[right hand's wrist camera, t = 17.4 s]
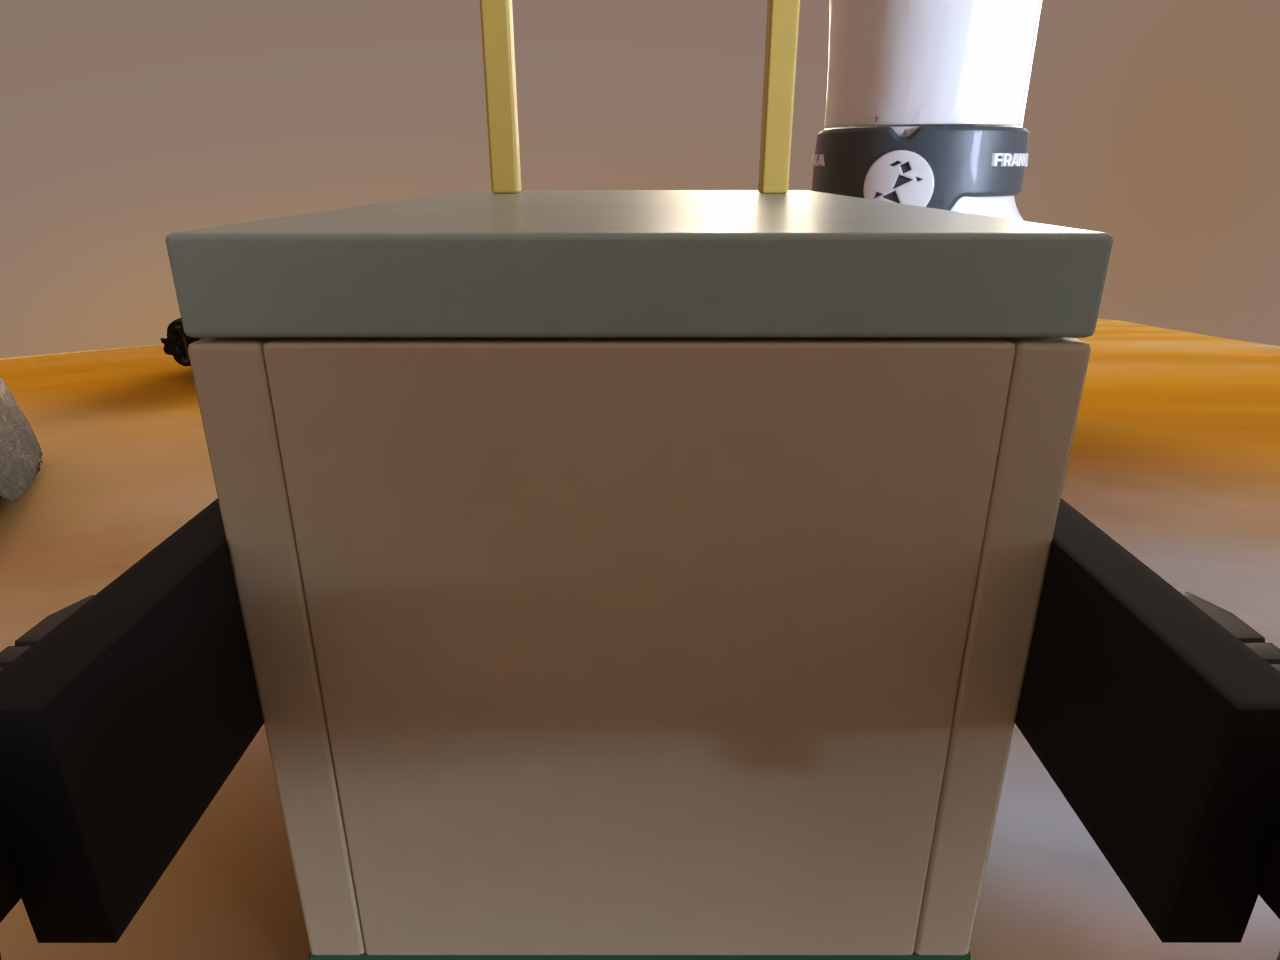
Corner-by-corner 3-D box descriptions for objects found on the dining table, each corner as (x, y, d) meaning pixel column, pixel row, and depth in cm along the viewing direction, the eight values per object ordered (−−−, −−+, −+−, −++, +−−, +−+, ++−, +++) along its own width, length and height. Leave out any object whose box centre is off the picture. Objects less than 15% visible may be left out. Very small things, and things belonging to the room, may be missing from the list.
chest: (493, 547, 28) (470, 231, 24) (786, 547, 28) (809, 231, 24) (318, 1003, 13) (181, 343, 9) (960, 1003, 13) (1096, 343, 9)
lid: (474, 229, 25) (449, -116, 21) (805, 229, 25) (829, -116, 21) (182, 338, 9) (-67, -881, 6) (1096, 339, 9) (1346, -882, 6)
